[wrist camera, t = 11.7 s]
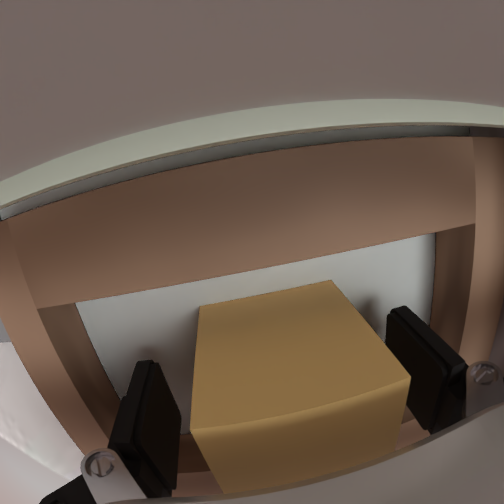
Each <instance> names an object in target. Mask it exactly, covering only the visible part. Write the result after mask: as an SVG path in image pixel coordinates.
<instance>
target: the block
mask: <svg viewBox="0 0 504 504" xmlns="http://www.w3.org/2000/svg"><path fill="white" fill-rule="evenodd" d="M410 380H411V376H410V375H409V373H408V372H407V371H406V370H405V368H404V367H403V366H402V365H401V363H400V362H399V361H398V360H397V358H396V357H395V356H394V355H393V353H392V352H391V351H390V350H389V349H388V347H387V346H386V345H385V344H384V342H383V341H382V340H381V339H380V337H379V336H378V335H377V334H376V333H375V331H374V330H373V329H372V328H371V327H370V325H369V324H368V323H367V322H366V321H365V319H364V318H363V317H362V316H361V315H360V313H359V312H358V311H357V310H356V309H355V307H354V306H353V305H352V304H351V303H350V302H349V300H348V299H347V298H346V297H345V296H344V294H343V293H342V292H341V291H340V290H339V289H338V287H337V286H336V285H335V284H334V283H333V282H332V280H328V281H323V282H319V283H314V284H309V285H305V286H300V287H295V288H291V289H286V290H281V291H276V292H271V293H266V294H261V295H256V296H251V297H246V298H241V299H236V300H230V301H225V302H220V303H214V304H209V305H203V306H200V310H199V320H198V330H197V341H196V352H195V364H194V376H193V390H192V404H191V420H190V431H191V433H192V435H193V437H194V439H195V441H196V443H197V445H198V447H199V449H200V451H201V453H202V455H203V457H204V459H205V460H206V462H207V464H208V466H209V468H210V470H211V472H212V473H213V475H214V477H215V479H216V481H217V482H218V484H219V486H220V488H221V489H222V491H223V493H224V494H225V493H234V492H242V491H249V490H255V489H261V488H267V487H273V486H278V485H283V484H288V483H292V482H297V481H301V480H305V479H310V478H314V477H317V476H321V475H325V474H329V473H332V472H336V471H339V470H342V469H346V468H349V467H352V466H355V465H358V464H361V463H364V462H367V461H370V460H373V459H375V458H378V457H381V456H383V455H386V454H389V453H391V452H394V449H395V446H396V442H397V438H398V435H399V431H400V427H401V423H402V418H403V414H404V410H405V405H406V400H407V396H408V391H409V385H410Z"/></svg>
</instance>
